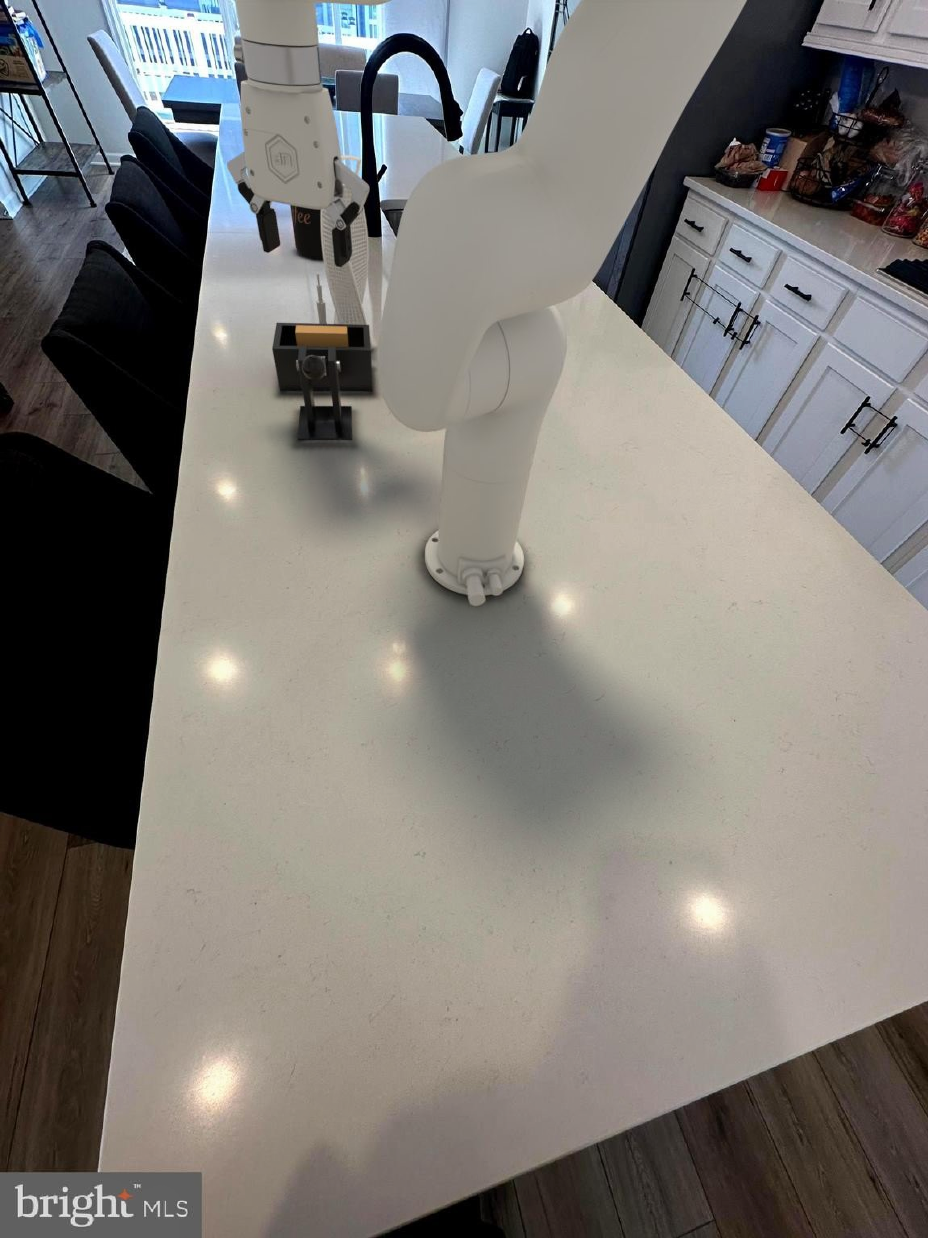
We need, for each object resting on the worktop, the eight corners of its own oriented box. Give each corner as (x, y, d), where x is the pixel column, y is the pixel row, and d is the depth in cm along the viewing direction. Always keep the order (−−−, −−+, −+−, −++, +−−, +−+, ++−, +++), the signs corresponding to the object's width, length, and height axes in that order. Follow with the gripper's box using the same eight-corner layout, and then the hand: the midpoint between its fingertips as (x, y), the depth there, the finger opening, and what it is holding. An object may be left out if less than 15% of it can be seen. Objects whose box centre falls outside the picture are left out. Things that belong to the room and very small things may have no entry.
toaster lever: (326, 381, 72) (323, 355, 70) (302, 380, 71) (299, 354, 70) (330, 376, 81) (329, 353, 80) (309, 376, 81) (307, 353, 80)
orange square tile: (350, 381, 95) (347, 333, 89) (302, 381, 94) (295, 332, 88) (350, 374, 97) (347, 326, 90) (303, 373, 95) (296, 324, 89)
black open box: (373, 396, 94) (370, 350, 88) (280, 395, 92) (272, 348, 86) (371, 369, 100) (369, 324, 94) (284, 368, 97) (276, 322, 91)
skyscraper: (349, 334, 107) (335, 148, 86) (382, 348, 105) (376, 160, 83) (318, 349, 103) (295, 156, 81) (352, 364, 100) (338, 169, 78)
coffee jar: (291, 245, 133) (277, 149, 120) (334, 242, 137) (326, 148, 123) (302, 262, 128) (290, 163, 114) (348, 259, 131) (341, 162, 117)
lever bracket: (352, 445, 85) (346, 369, 76) (298, 445, 84) (285, 368, 75) (352, 412, 90) (346, 338, 81) (301, 412, 89) (289, 337, 80)
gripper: (186, 58, 56) (229, 253, 69) (346, 83, 54) (359, 279, 67) (228, 52, 61) (260, 235, 74) (376, 74, 59) (382, 259, 72)
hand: (307, 256), depth 70 cm, fingers open, 9 cm apart
